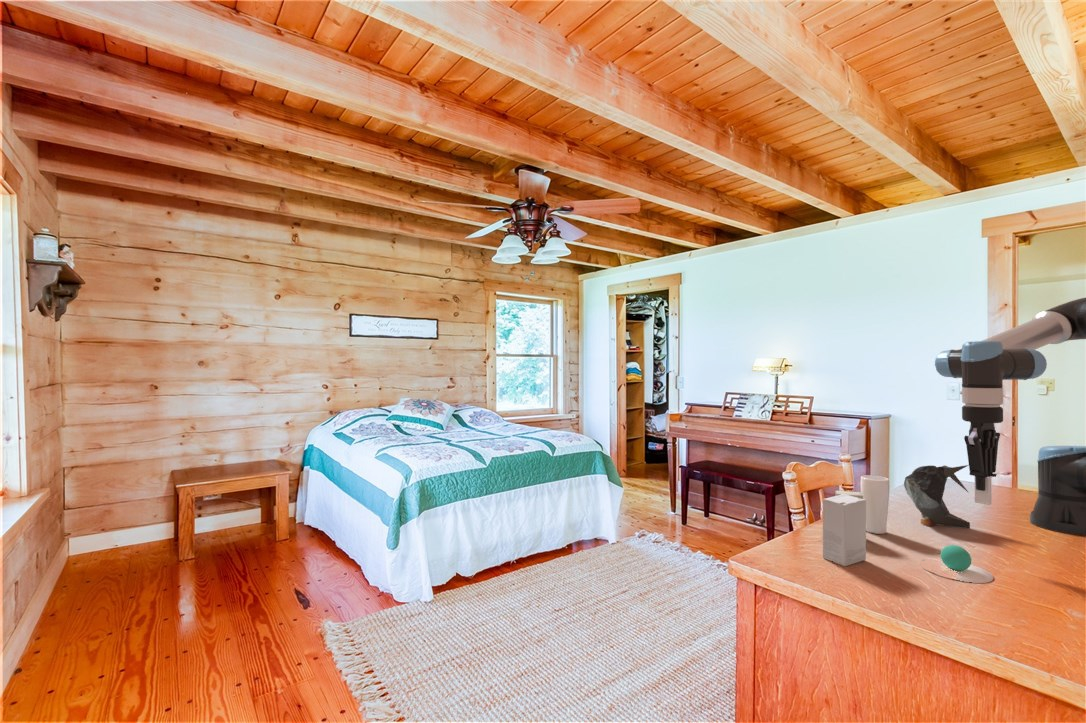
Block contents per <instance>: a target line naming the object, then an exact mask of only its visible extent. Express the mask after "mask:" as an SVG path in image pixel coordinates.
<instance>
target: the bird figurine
mask: <svg viewBox="0 0 1086 723" xmlns="http://www.w3.org/2000/svg"><path fill="white" fill-rule="evenodd" d="M967 467H969V464H966V465H960V466H955V467H954V466H953V467H951V466H947V465H944V464H943V465H941V466H936V465H922V466H918V467H917V468H915V469H913V471H912V472H911V474H909V475H906V476H905V478H904V481H903V487H904V489H905V491H906V494H907V495H908V497H909V498H910V499H911V501H912V503H913V505H914V506H915V508H916V509H917V510H918V511H919V512H920V517H921V518H920V525H922V524H923V526H925V525H927V526H926V527H933V526H946V527H953V528H954V527H955V528H962V529H970V528H971V522H969V521H967V520H966V519H963V518H961V517H959V516H957V515H955V514H952V513H950V510H949V509H948V507H947V505H946V504H945V501H944V500H943V498H944V497H943V496H944V494H945V493H944V492H945V489H946V483H947V481H948V478H950V479H952V481H954V482H955V483H956V484H958V485H959V486H960V487H961V488H962V489H963V490H964V491H966V492H967V493H968V494H970V493H969V491H968V489H967V488H966V487H965V486H964V484H963V483H962V482H961V480H959V478H958V477H957V475H956V474H955V473H957V472H959V471H961V470H962V469H965V468H967Z"/></svg>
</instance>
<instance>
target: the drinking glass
mask: <svg viewBox="0 0 1086 723" xmlns="http://www.w3.org/2000/svg"><path fill="white" fill-rule="evenodd" d="M860 492H861V494H862V495H863V499H864V500H866V533H871V534H874V535H884V534H886V533H887V531H888V530H887V528H888V527H887V525H888V515H889V514H888V511H889V502H890V479H889V478H887V477H885V476H880V475H871V474H870V475H869V474H865V475H861V476H860Z"/></svg>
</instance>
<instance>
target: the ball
mask: <svg viewBox="0 0 1086 723" xmlns="http://www.w3.org/2000/svg"><path fill="white" fill-rule="evenodd" d="M940 559H941V560H942V562H943V563H944V564H945V565H946V566H947V567H948V568H950V569H952V570H956V571H963V570H966V569H968V568H969V567H970V565H972V557H971V554H970V553H969V552H968V550H966V549H965V548H964V547H962V546H960V545H956V544H950V545H946V546H945V547H943V548H942V549H941V551H940Z"/></svg>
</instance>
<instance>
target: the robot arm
mask: <svg viewBox="0 0 1086 723" xmlns="http://www.w3.org/2000/svg"><path fill="white" fill-rule="evenodd" d="M1079 340H1086V297H1081V298H1077V299H1072V300H1070V301H1068V302H1064V303H1061V304H1059V305H1056V306H1054V307H1051V308H1049V309H1046V310H1043V311H1042V312H1041V311H1040V312H1039V313H1037V314H1035V316H1033V317H1032V319H1031V320H1029V321H1027V322H1024V323H1022V324H1020V325H1017V326H1014V327H1012V328H1009V329H1007V330H1004V331H1003V332H1000V333H997V334H995V335H992V336H991V337H988V338H985V339H982V340H980V341H978V340H977V341H975V340H974V341H966V342H964V343H963V344H962V346H961V348H960V349H949V350H948V349H947V350H943V351H940V352H939V353H938V354H937V355H936V357H935V360H934V367H935V370H936V373H938V375H941V376H942V377H944V378H953V379H961V390H960V391H959V394H960V395H961V401H962V403H963V404H965V405H963V406H961V419H962V420H963V421H964V422H969V423H970V425H969V430H968V435H964V438H963V439H964V442H965V444H966V453H967V454H966V455H967V460H968V469H969V475H970V476H973V477H974V503H976V504H980V505H985V506H991V505H992V504H993V503H992V501H993V500H992V499H993V496H992V494H993V493H992V477H994V478H996V477H997V473H996V471H997V461H998V459H997V458H998V450H999V449H998V448H999V441H1000V437H1001V433H1000V432H996V431H997V430H996V427H995V424H1001V423H1003V422H1004V408H1003V407H1002V405H1004V387H1003V383H1004V382H1003V381H1004V380H1005V381H1007V380H1008V381H1009V380H1010V381H1013V380H1014V381H1015V380H1016V381H1017V380H1023V381H1027V380H1034V379H1037V378H1039V377H1040V376H1042V375H1043V374H1045V372H1046V370H1047V364H1048V363H1047V359H1046V357H1045V355H1044V354H1043V353H1042V352H1040V351H1039V350H1038V349H1041V348H1042V347H1045V346H1047V345H1059V344H1062V343H1064V342H1069V341H1079ZM1036 462H1037V476H1038V477H1037V480H1038V481H1037V483H1038V484H1037V486H1038V487H1037V488H1038V491H1037V492H1038V493H1037V494H1038V495H1037V498H1036V500H1035V503H1034V506H1033V509H1032V511H1031V512H1030V513H1029V521H1030V523H1031V524H1033V525H1035V526H1038V527H1040V528H1043V529H1046V530H1050V531H1054V532H1060V533H1064V534H1072V535H1078V536H1079V535H1080V536H1086V445H1048V446H1042V447H1040V448H1039V450H1038V456H1037V460H1036Z"/></svg>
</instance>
